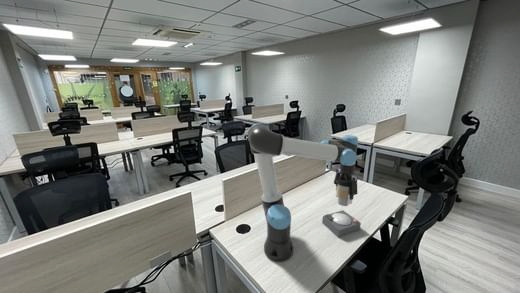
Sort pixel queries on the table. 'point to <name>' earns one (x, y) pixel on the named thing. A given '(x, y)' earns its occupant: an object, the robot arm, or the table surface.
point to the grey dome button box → (341, 223)
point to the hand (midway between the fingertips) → (343, 199)
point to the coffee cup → (343, 191)
